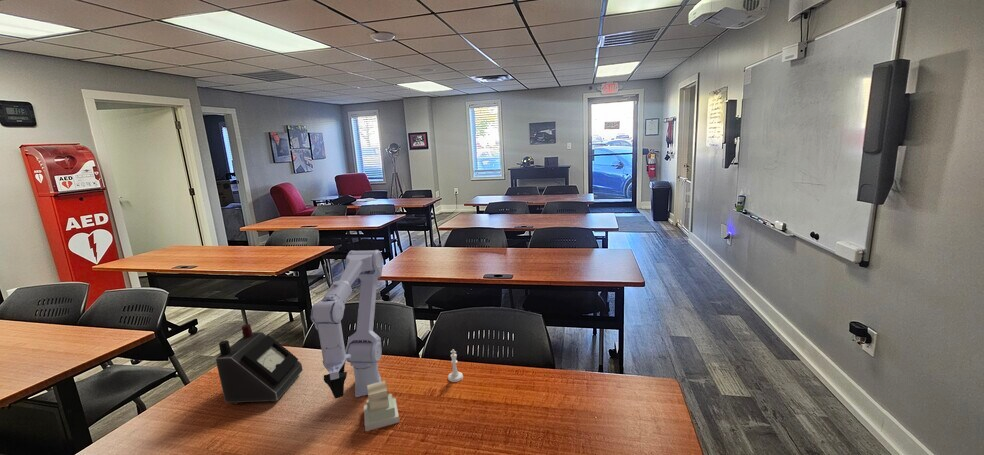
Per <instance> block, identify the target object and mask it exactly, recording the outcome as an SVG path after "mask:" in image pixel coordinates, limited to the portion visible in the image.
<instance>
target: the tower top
mask: <svg viewBox="0 0 984 455" xmlns="http://www.w3.org/2000/svg"><path fill="white" fill-rule="evenodd" d="M393 398H394V397H393V394H392V393H389V394H388V400H389V407H385V408H382V409H378V410H374V411H371V410H370V404H369V398H368V399H366V405H367V409H368V418H369V423H371V422H374V421H378V420H382V419H385V418H389V417H392V416H395V408H394V403H393Z"/></svg>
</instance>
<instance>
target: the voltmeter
mask: <svg viewBox="0 0 984 455" xmlns="http://www.w3.org/2000/svg"><path fill="white" fill-rule="evenodd" d="M251 327H252V326H251V324H249V323H248V324H243V325H242V326H241V332H242V333H241V334H242V337H241V338H240V339H238V340H237V341H235V343H233V344H232V345H230V342H229V340H226V339H225V340H222V341H220V342H219V343H218V346H219V352H220V354H219V355H218V356H216V357H215V358H214V360H215V364H216V368H217V372H218V376H219V380H220V381H219V382H220V384H221V389H222V394H223V397H224V403H233V404H234V403H237V404H239V403H245V402H250V403H251V402H269V401H271V403H277V402H278V401H279V400H280V397H282V396H283V394H284V393H285V392H287V390H288V388H290V386H291V384H293V383H294V382H295V380H296V379H298V377H299V375H300V374H301V373H302V372H303V371H304V369H303V363H301V362H300V361H299V358H298V357H296V356H295V354H293V353H292V352H291V351H289V350H288V349H287V348H286V347H284V346H283V345H282V344H281V343H279V342H278V341H277V340H276V339H274V338H273V337H272V336H270V334H266V333H264V332H263V331H256V332H255V331H254V332H253V329H252V328H251ZM238 402H239V403H238Z"/></svg>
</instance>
